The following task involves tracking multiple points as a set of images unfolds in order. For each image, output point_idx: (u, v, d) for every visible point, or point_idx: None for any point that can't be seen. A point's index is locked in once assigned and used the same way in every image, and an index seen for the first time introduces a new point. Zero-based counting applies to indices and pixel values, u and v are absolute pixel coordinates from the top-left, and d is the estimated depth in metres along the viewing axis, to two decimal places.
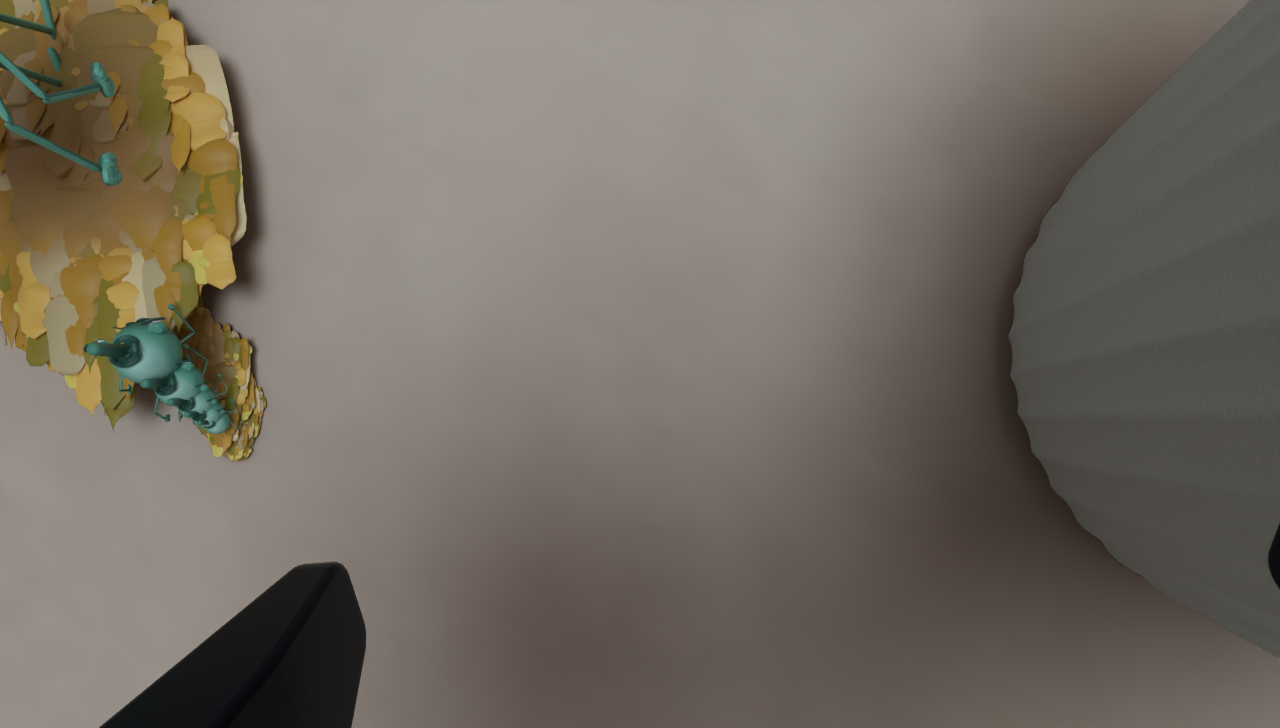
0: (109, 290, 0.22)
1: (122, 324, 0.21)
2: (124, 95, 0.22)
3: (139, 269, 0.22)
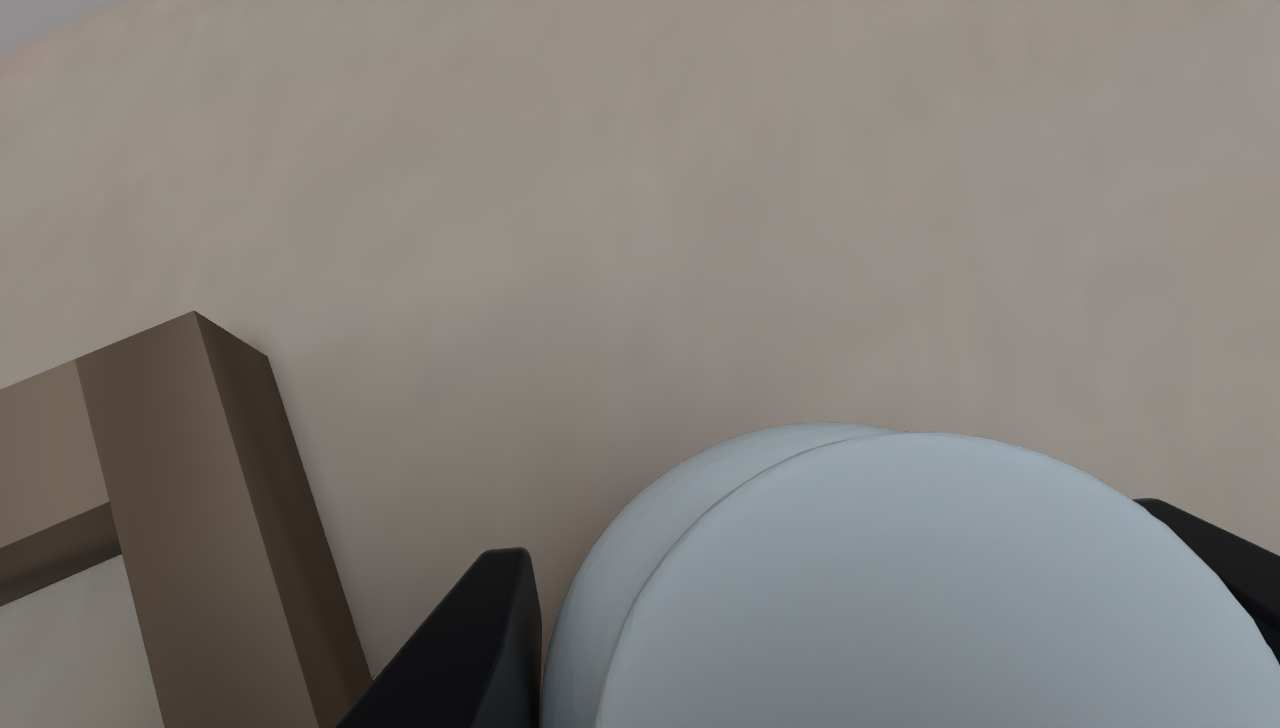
0: None
1: None
2: None
3: None
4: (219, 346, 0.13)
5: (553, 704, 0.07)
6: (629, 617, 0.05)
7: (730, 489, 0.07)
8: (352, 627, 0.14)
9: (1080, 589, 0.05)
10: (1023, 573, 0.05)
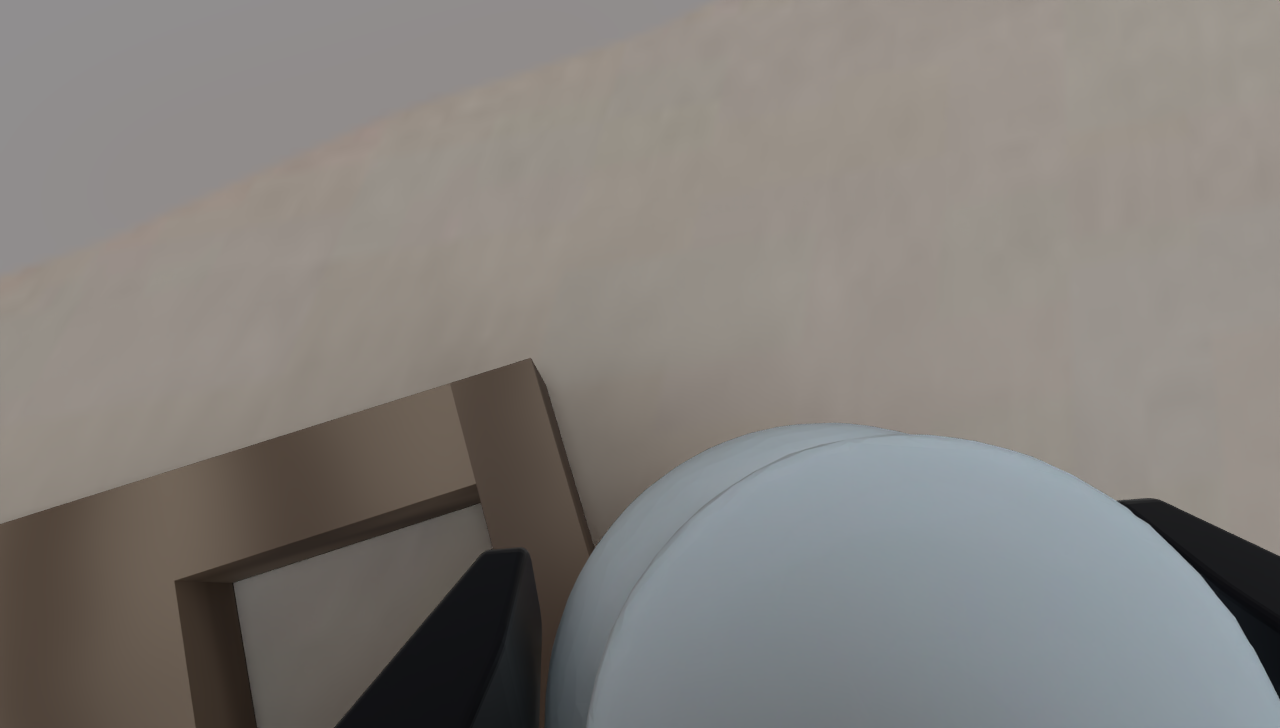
0: None
1: None
2: None
3: None
4: (539, 382, 0.19)
5: (556, 700, 0.07)
6: (619, 615, 0.05)
7: None
8: None
9: (1062, 588, 0.05)
10: (1006, 573, 0.05)
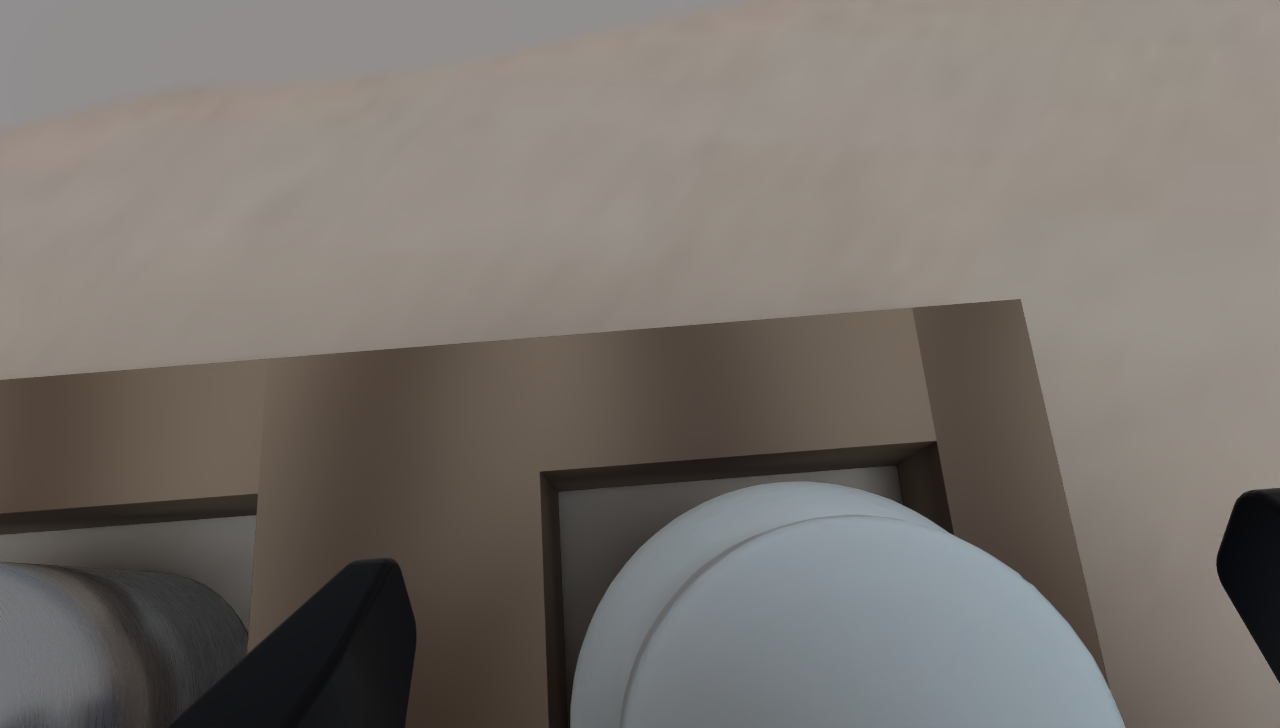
0: None
1: None
2: None
3: None
4: None
5: (582, 710, 0.09)
6: (644, 653, 0.06)
7: (722, 540, 0.09)
8: None
9: (968, 634, 0.06)
10: (928, 622, 0.06)
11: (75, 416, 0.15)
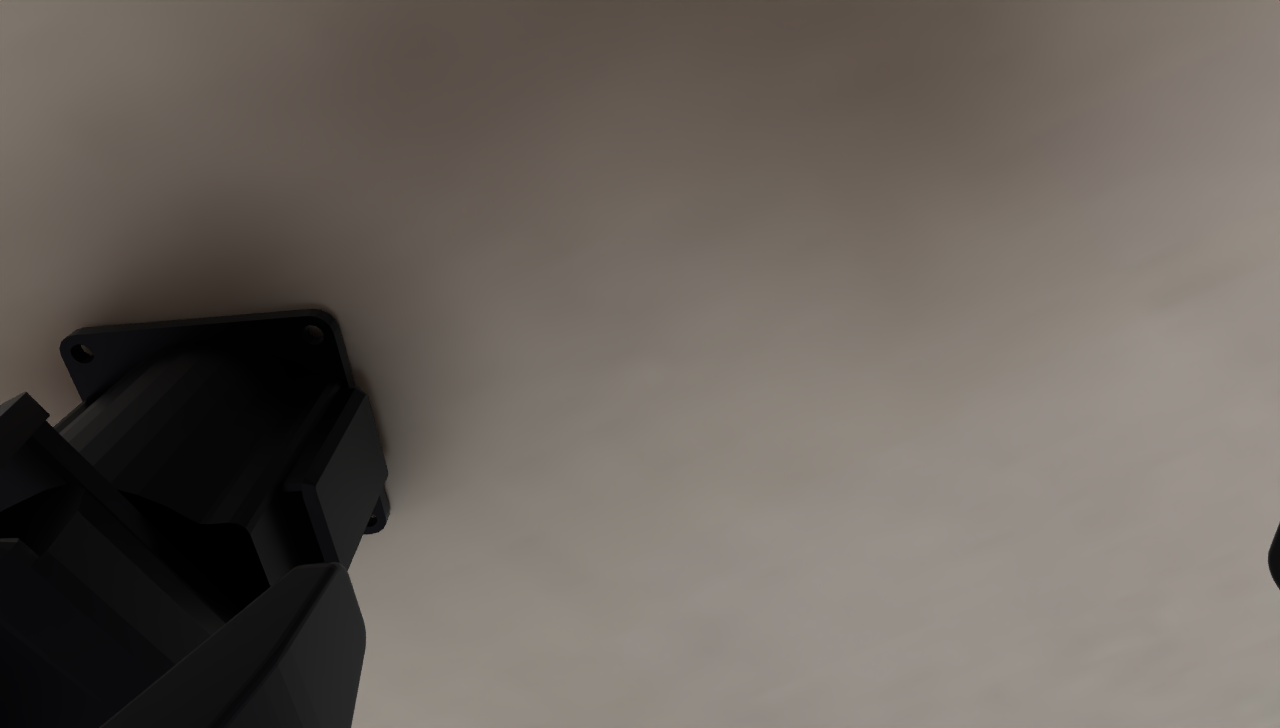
0: None
1: None
2: None
3: None
4: None
5: None
6: None
7: None
8: None
9: None
10: None
11: None
